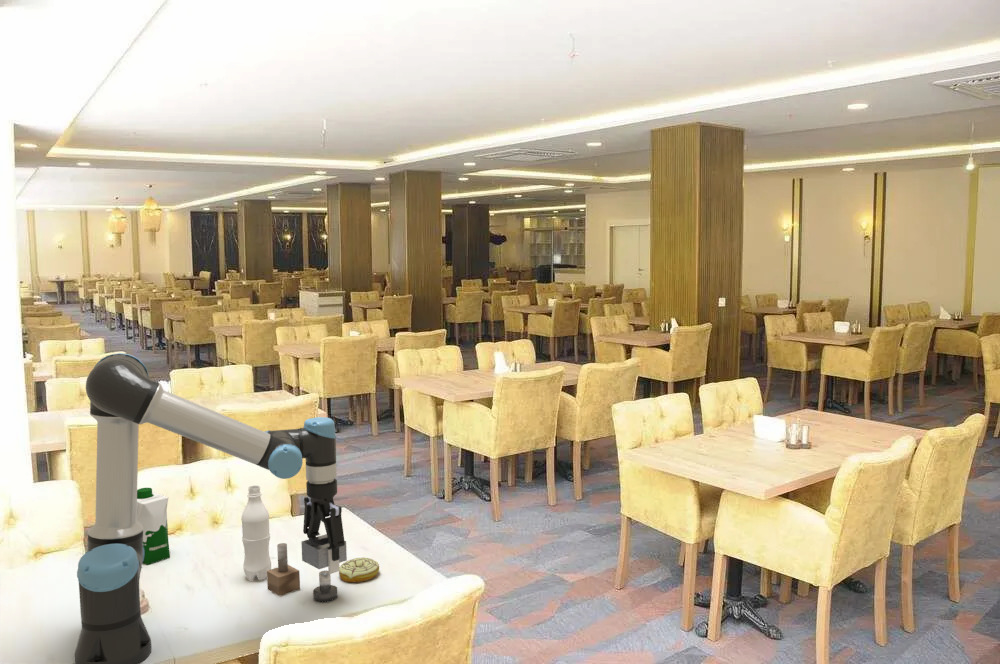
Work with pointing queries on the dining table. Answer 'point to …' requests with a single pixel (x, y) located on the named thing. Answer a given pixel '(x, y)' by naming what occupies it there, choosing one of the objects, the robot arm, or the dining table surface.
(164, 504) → the milk carton
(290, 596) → the dining table surface
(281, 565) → the stand
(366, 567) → the decorated donut
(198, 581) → the dining table surface
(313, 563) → the square steel tube
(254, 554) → the water bottle
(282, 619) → the dining table surface
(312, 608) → the dining table surface
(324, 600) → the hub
